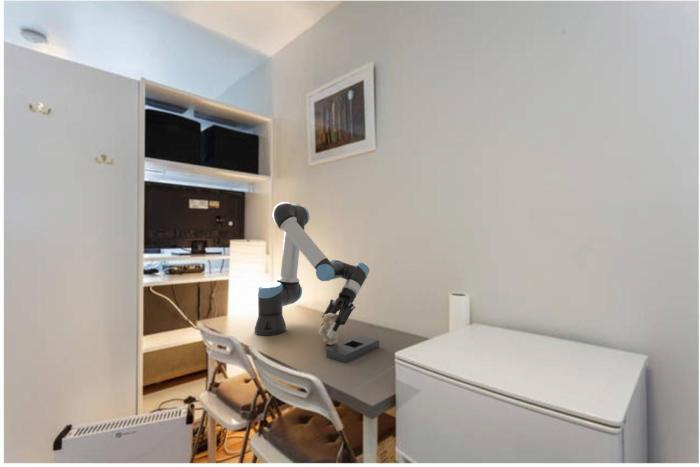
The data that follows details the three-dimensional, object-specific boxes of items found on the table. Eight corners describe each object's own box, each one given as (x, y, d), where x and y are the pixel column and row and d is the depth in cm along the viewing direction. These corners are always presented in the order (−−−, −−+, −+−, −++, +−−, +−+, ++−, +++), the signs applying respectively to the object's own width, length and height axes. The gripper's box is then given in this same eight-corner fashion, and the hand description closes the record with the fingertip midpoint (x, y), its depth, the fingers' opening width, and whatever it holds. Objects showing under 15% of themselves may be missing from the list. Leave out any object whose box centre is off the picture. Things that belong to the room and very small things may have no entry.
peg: (323, 342, 136) (323, 314, 137) (330, 340, 140) (330, 312, 140) (330, 344, 134) (330, 316, 134) (337, 342, 137) (337, 314, 137)
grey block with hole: (326, 356, 123) (326, 348, 123) (360, 342, 140) (360, 335, 140) (345, 363, 117) (345, 354, 117) (379, 347, 134) (379, 339, 134)
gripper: (367, 299, 143) (344, 345, 130) (339, 294, 154) (314, 336, 141) (360, 288, 139) (335, 335, 126) (331, 284, 150) (305, 327, 137)
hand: (324, 335), depth 134 cm, fingers closed on peg, 4 cm apart
